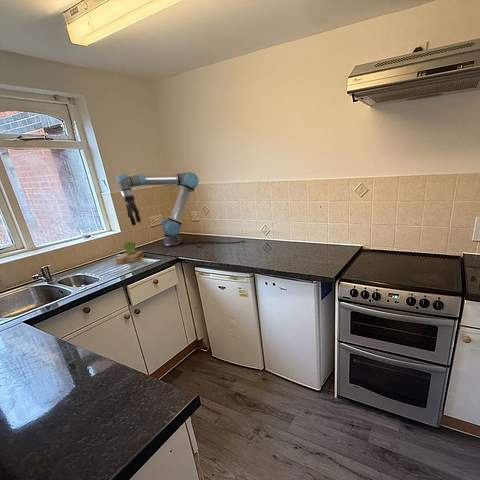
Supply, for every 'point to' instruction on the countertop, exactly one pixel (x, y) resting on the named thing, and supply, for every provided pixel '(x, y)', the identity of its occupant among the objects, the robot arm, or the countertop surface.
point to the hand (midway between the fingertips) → (136, 223)
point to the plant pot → (130, 247)
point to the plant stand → (130, 257)
